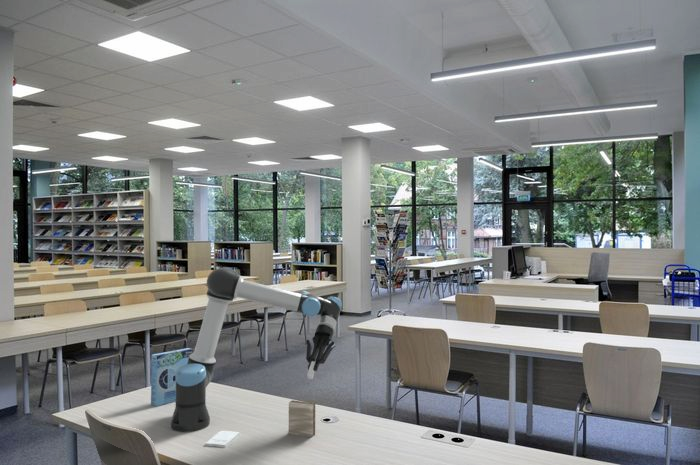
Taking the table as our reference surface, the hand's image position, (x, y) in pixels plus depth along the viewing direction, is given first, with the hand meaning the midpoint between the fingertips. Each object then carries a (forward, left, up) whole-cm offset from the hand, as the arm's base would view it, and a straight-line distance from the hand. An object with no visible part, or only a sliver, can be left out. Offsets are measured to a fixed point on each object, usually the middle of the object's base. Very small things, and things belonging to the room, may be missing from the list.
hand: (309, 377), depth 198 cm
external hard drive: (-33, -6, -21) cm, 40 cm away
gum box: (-60, +46, -21) cm, 79 cm away
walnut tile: (-3, -5, -20) cm, 21 cm away
